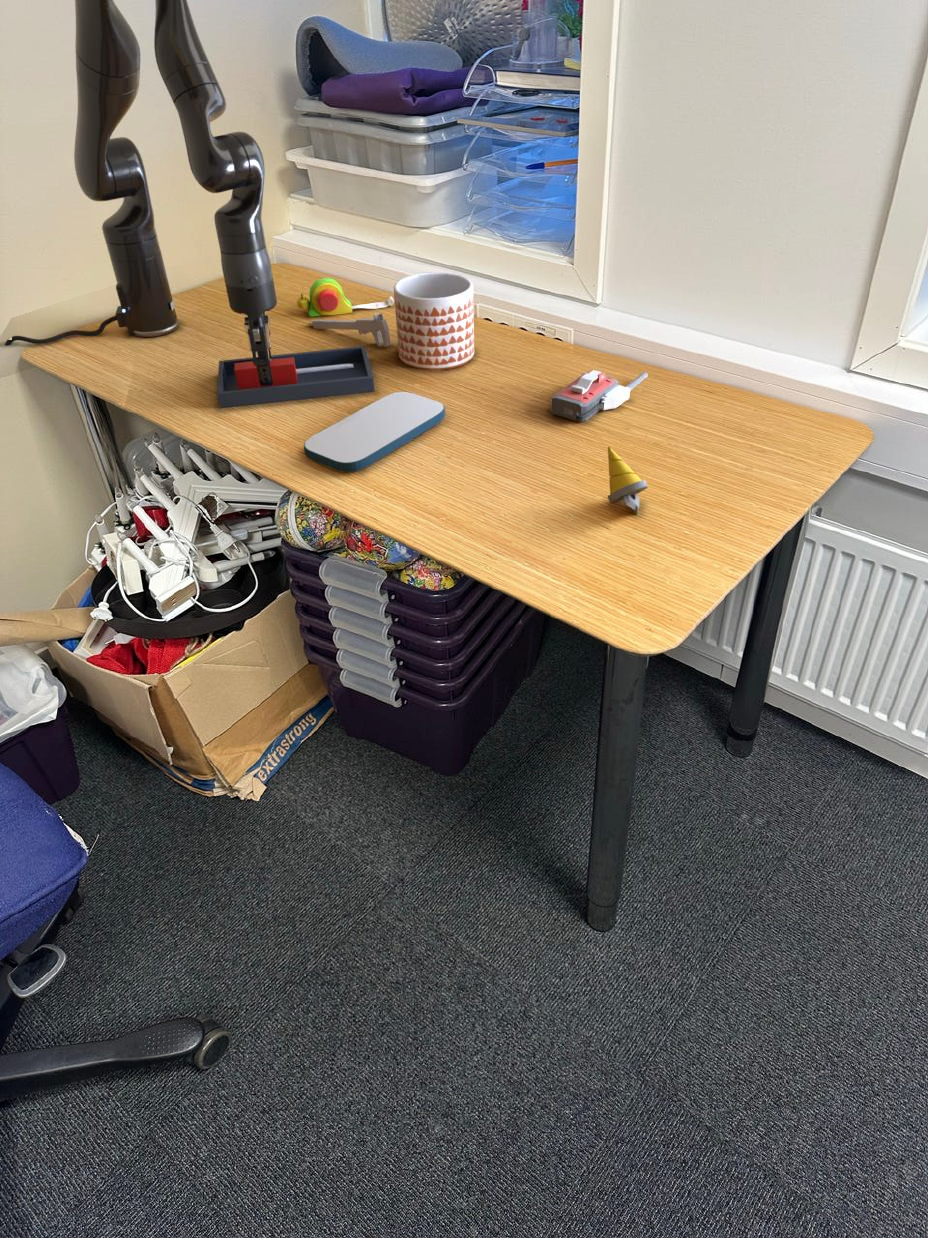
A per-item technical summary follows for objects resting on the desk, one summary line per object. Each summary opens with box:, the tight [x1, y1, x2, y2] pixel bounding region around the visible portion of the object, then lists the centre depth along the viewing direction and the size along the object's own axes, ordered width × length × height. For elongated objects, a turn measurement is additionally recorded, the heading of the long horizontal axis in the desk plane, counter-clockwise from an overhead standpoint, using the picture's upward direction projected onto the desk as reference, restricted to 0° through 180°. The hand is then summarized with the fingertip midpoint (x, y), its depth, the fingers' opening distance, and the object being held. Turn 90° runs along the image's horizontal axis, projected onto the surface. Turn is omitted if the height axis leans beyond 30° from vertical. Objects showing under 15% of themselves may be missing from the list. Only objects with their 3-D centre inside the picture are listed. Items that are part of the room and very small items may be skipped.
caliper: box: [308, 312, 391, 348], centre depth 164 cm, size 20×1×6 cm, turn 53°
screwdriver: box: [234, 357, 353, 390], centre depth 148 cm, size 20×3×4 cm, turn 101°
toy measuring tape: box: [296, 277, 395, 317], centre depth 174 cm, size 6×20×7 cm, turn 104°
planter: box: [393, 271, 475, 371], centre depth 153 cm, size 14×14×13 cm
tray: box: [216, 345, 376, 409], centre depth 149 cm, size 26×14×3 cm, turn 101°
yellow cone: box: [607, 446, 649, 515], centre depth 116 cm, size 5×5×10 cm
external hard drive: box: [303, 391, 446, 473], centre depth 134 cm, size 24×12×2 cm, turn 142°
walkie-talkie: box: [550, 369, 649, 423], centre depth 141 cm, size 9×4×20 cm
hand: (266, 374), depth 148 cm, fingers open, 8 cm apart
